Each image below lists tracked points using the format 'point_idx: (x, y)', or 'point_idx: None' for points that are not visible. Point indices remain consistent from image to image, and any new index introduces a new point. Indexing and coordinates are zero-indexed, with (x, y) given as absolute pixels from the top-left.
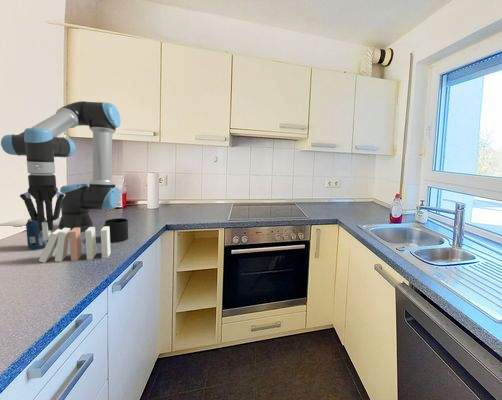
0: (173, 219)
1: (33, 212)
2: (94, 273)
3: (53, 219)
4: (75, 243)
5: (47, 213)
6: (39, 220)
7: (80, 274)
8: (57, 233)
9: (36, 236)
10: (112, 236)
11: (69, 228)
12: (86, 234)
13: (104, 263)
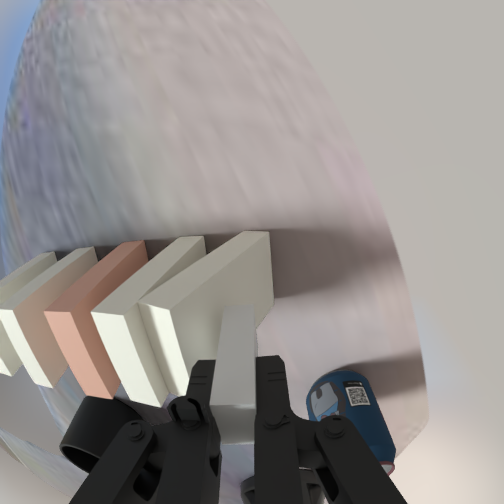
0: None
1: (346, 497)
2: (32, 114)
3: (147, 426)
4: (86, 276)
5: (186, 490)
6: (275, 421)
7: (64, 102)
8: (153, 328)
9: (345, 408)
10: (100, 411)
11: (130, 394)
12: (20, 300)
13: (31, 200)
